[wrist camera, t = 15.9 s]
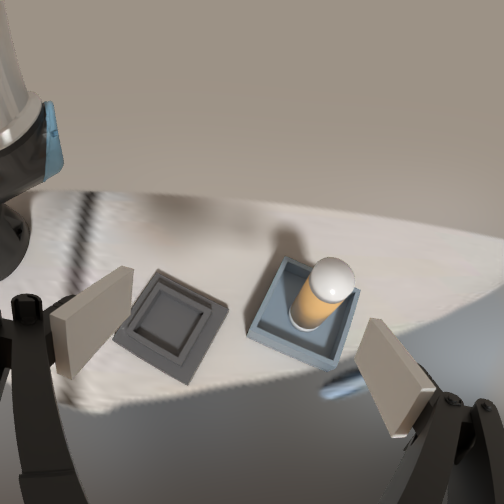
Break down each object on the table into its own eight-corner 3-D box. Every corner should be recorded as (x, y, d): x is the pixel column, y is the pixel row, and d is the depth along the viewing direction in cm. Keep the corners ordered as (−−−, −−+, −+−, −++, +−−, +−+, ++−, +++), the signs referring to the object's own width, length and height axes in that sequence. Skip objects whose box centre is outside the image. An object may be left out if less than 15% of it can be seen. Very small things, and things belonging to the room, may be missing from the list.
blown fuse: (282, 323, 41) (306, 286, 31) (295, 294, 43) (320, 250, 33) (314, 338, 40) (348, 305, 30) (325, 308, 43) (359, 268, 33)
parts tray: (246, 336, 40) (249, 329, 37) (280, 267, 47) (285, 255, 44) (327, 372, 38) (336, 367, 35) (351, 299, 45) (360, 290, 42)
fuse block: (114, 341, 37) (108, 336, 35) (157, 275, 43) (154, 267, 41) (188, 385, 35) (186, 383, 33) (228, 311, 42) (229, 305, 40)
